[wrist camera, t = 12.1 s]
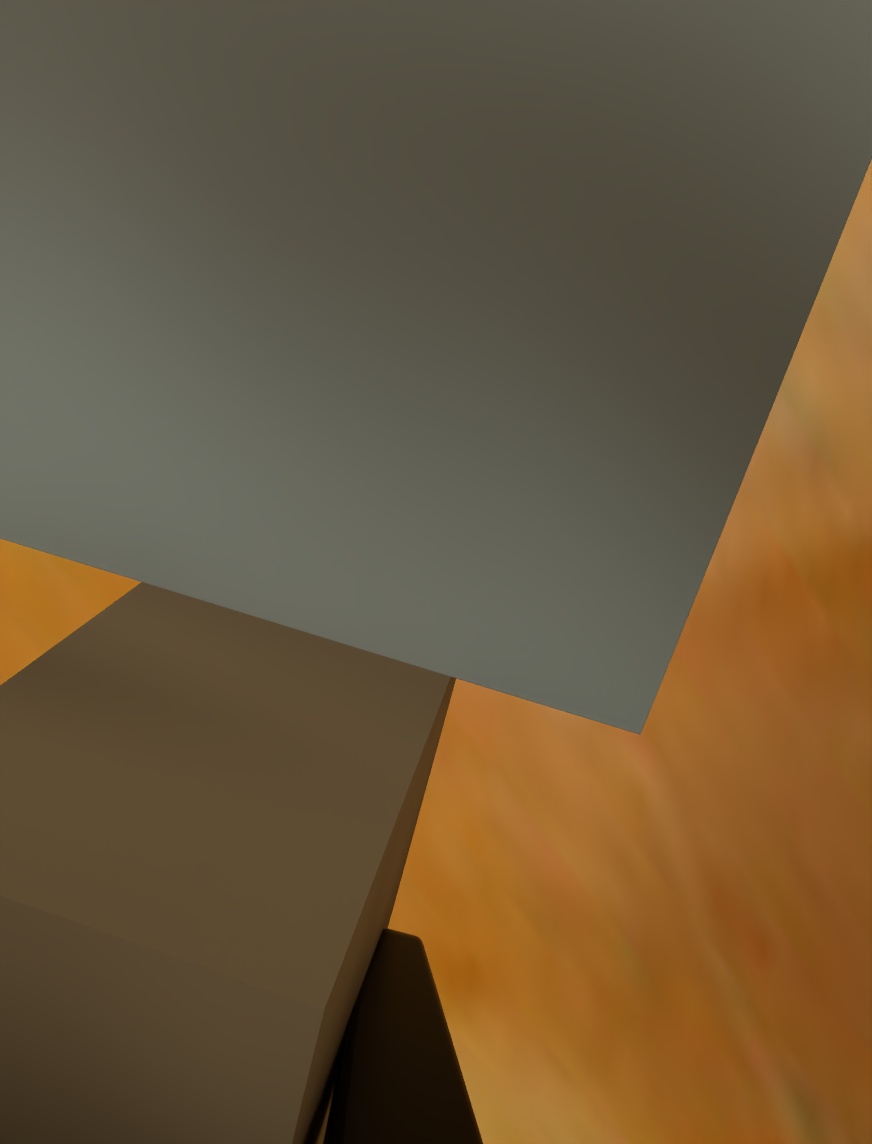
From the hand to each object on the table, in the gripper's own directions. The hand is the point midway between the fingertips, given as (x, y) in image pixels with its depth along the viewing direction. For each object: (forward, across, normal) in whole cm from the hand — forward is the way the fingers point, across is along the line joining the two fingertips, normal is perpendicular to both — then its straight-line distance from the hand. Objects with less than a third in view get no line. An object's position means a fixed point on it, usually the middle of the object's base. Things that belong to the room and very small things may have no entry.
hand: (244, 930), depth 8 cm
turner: (0, 0, -4) cm, 4 cm away
